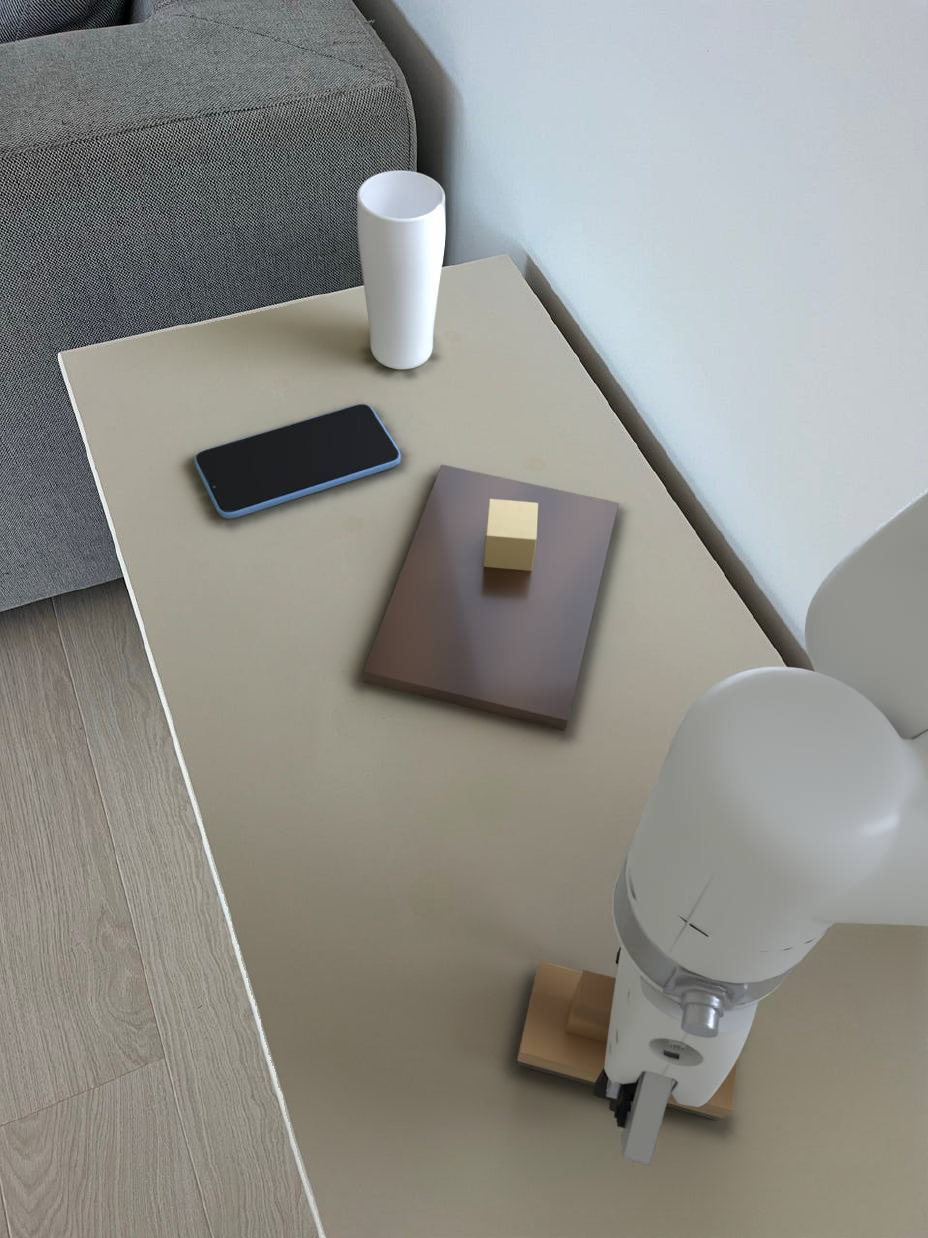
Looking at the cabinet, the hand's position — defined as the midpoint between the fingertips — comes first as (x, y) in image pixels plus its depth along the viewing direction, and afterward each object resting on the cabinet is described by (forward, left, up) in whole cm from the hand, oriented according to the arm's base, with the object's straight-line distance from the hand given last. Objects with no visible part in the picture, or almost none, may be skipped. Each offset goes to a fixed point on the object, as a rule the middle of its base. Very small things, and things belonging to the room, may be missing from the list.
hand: (634, 1030), depth 57 cm
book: (+14, -29, -4) cm, 32 cm away
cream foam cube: (+14, -32, -2) cm, 35 cm away
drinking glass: (+28, -52, -4) cm, 59 cm away
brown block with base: (0, 0, -4) cm, 4 cm away
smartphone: (+32, -37, -4) cm, 49 cm away
